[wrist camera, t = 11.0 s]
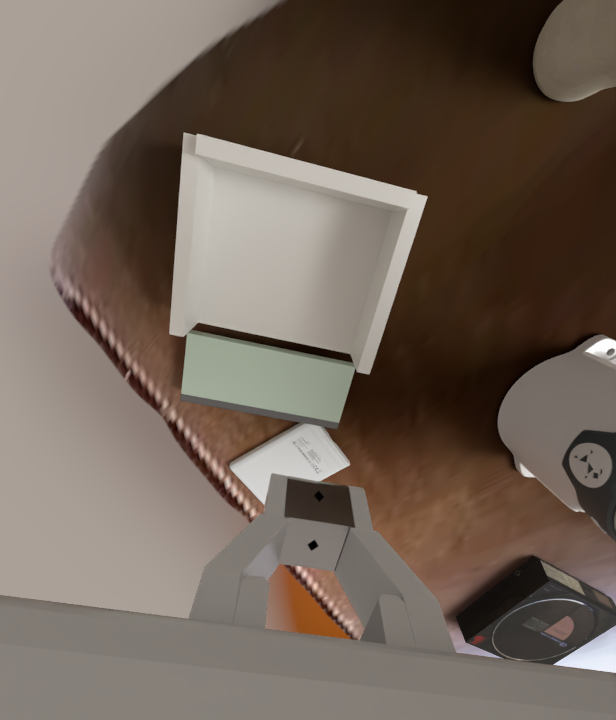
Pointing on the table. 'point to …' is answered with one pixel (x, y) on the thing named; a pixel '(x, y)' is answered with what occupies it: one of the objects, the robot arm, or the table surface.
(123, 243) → the table surface
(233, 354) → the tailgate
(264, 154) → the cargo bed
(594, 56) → the cream statue
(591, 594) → the portable cd player
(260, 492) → the external hard drive
